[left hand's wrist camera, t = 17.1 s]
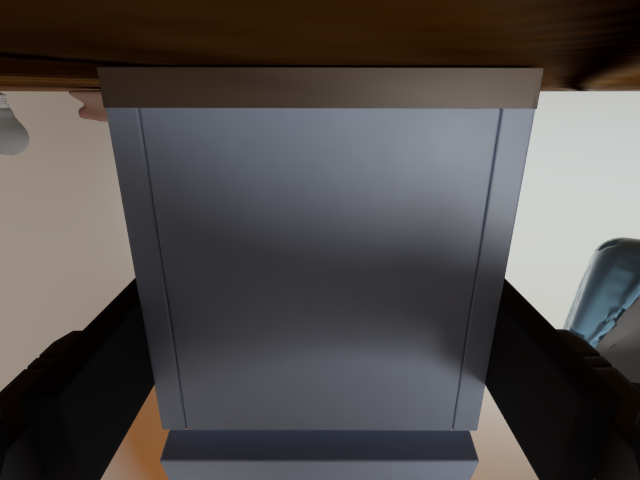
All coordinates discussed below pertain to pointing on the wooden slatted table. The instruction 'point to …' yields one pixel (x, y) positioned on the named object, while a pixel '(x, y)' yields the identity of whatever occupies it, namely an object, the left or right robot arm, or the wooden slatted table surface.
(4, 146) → the light bulb
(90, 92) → the anatomical model
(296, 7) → the wooden slatted table surface
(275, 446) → the lid
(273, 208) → the chest
